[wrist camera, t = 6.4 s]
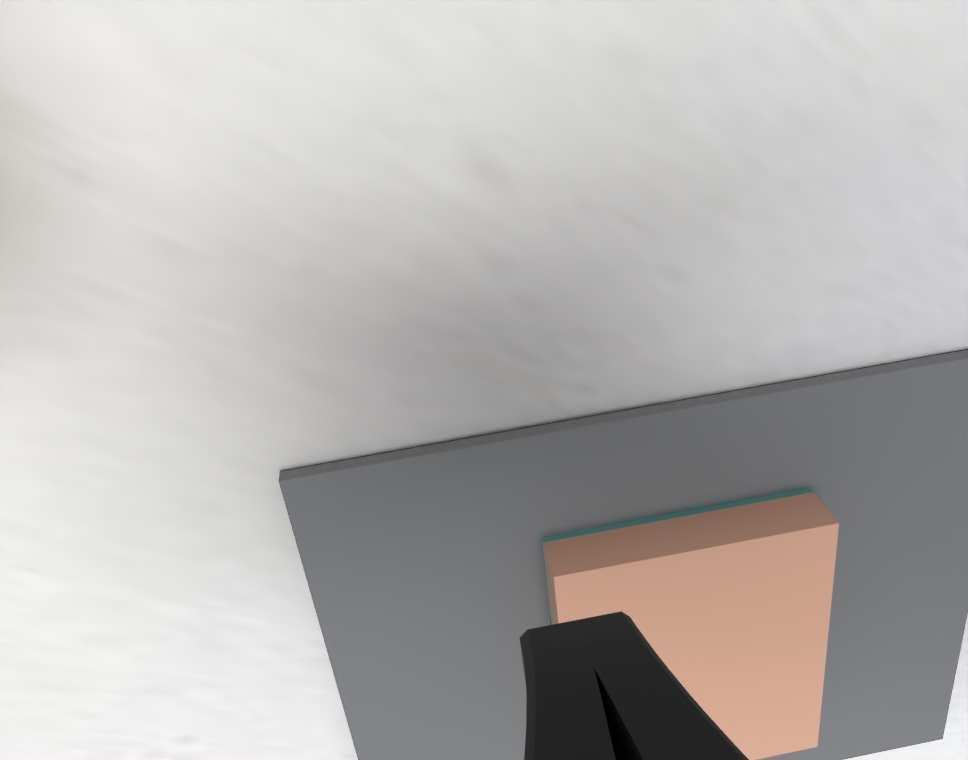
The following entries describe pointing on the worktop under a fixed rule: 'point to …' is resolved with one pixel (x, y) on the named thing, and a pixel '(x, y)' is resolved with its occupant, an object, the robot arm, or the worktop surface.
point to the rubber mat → (632, 496)
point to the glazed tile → (719, 606)
